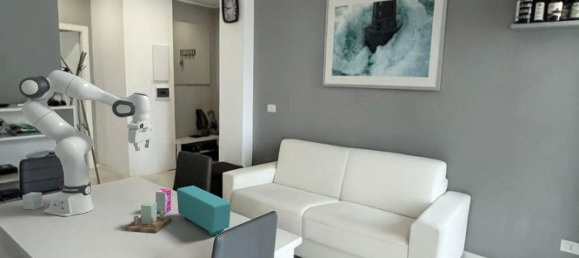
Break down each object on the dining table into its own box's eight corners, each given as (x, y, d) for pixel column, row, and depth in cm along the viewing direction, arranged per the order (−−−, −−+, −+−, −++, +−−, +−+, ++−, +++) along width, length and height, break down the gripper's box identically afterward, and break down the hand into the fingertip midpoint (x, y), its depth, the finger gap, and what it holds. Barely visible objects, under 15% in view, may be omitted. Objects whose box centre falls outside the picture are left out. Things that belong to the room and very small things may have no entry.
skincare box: (43, 205, 187) (42, 192, 186) (33, 209, 181) (32, 196, 180) (32, 205, 187) (31, 191, 186) (23, 209, 181) (22, 195, 180)
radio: (232, 233, 160) (233, 201, 158) (213, 240, 152) (213, 206, 151) (195, 212, 184) (195, 184, 182) (176, 217, 177) (176, 188, 175)
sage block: (141, 223, 163) (140, 205, 162) (147, 219, 168) (146, 201, 167) (151, 224, 163) (151, 205, 162) (156, 220, 168) (156, 202, 167)
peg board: (125, 230, 159) (124, 218, 159) (142, 218, 174) (142, 207, 173) (156, 233, 158) (156, 221, 157) (171, 220, 172) (171, 209, 172)
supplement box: (165, 213, 180) (165, 192, 179) (155, 212, 181) (154, 191, 180) (171, 210, 186) (171, 189, 185) (161, 208, 187) (161, 188, 186)
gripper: (146, 121, 197) (146, 145, 199) (125, 125, 177) (125, 152, 179) (156, 121, 197) (157, 146, 198) (136, 126, 176) (137, 153, 178)
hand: (142, 149), depth 188 cm, fingers open, 8 cm apart
